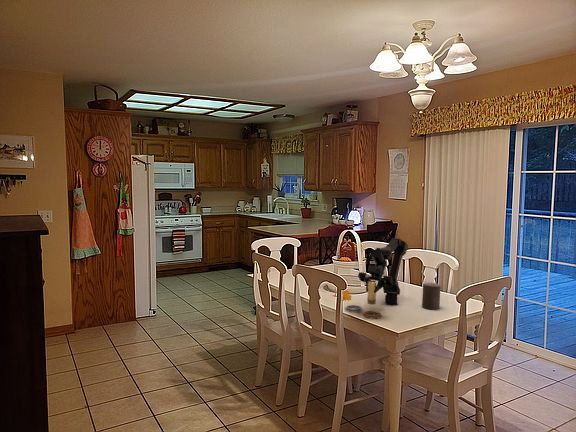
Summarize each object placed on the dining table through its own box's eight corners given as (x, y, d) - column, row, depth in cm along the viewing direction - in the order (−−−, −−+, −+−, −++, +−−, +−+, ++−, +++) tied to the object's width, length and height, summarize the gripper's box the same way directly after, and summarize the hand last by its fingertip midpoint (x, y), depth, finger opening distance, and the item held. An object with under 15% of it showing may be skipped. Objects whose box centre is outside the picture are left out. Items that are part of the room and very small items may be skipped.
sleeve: (375, 302, 235) (376, 280, 234) (375, 304, 230) (376, 282, 229) (367, 302, 236) (367, 280, 235) (367, 304, 231) (367, 282, 230)
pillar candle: (428, 310, 244) (429, 284, 243) (418, 305, 254) (419, 280, 252) (443, 309, 247) (444, 283, 246) (433, 304, 256) (434, 279, 255)
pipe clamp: (351, 300, 264) (351, 290, 264) (345, 301, 263) (345, 290, 262) (341, 295, 275) (341, 285, 275) (335, 296, 274) (335, 286, 273)
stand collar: (380, 314, 237) (380, 311, 236) (381, 319, 228) (381, 316, 228) (364, 313, 238) (364, 310, 238) (364, 318, 229) (364, 315, 229)
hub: (362, 307, 248) (362, 305, 248) (363, 312, 239) (363, 310, 239) (345, 306, 250) (345, 304, 250) (344, 311, 240) (344, 309, 240)
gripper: (359, 257, 240) (350, 281, 232) (391, 261, 229) (383, 286, 221) (365, 269, 247) (356, 292, 239) (396, 273, 236) (388, 297, 228)
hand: (370, 291), depth 231 cm, fingers closed on sleeve, 4 cm apart
